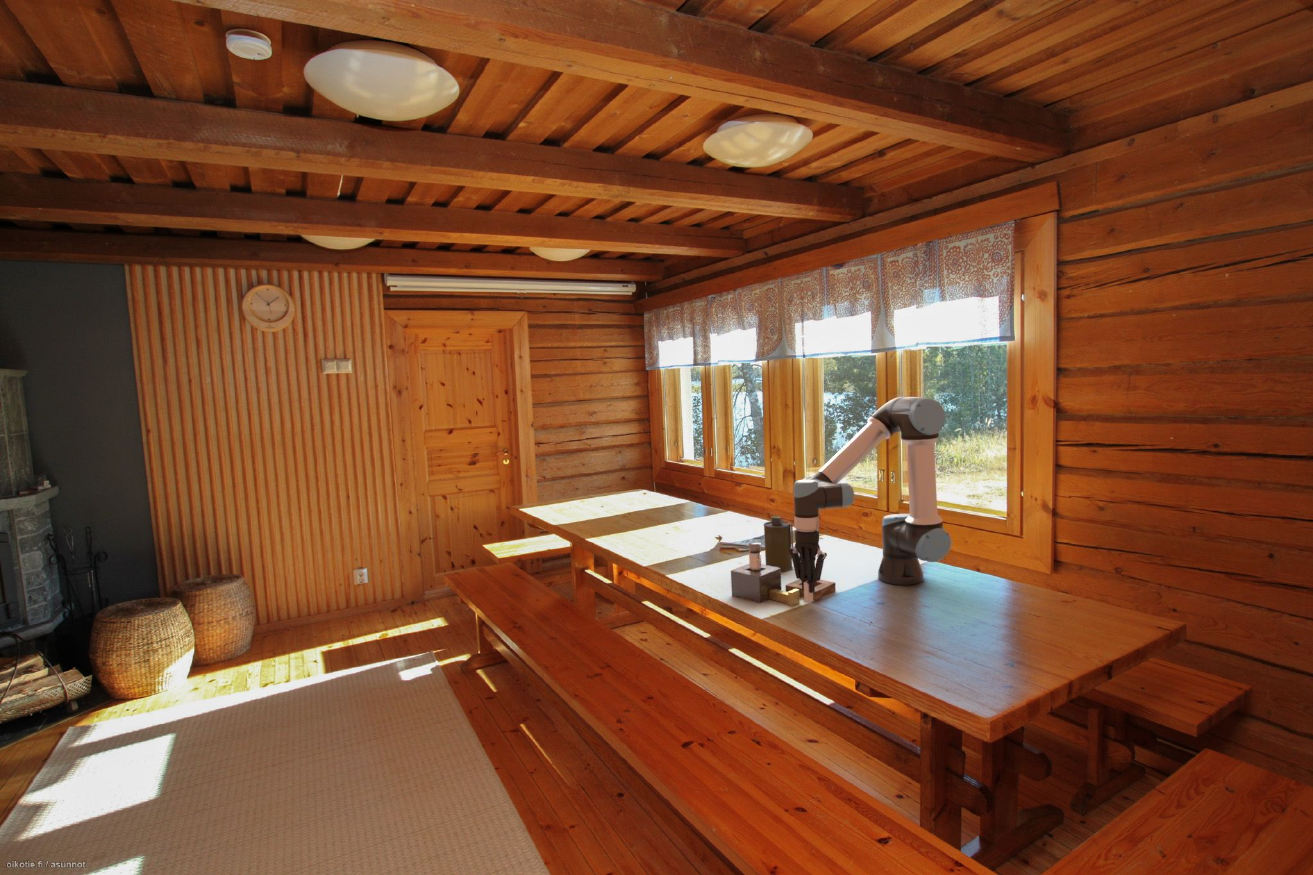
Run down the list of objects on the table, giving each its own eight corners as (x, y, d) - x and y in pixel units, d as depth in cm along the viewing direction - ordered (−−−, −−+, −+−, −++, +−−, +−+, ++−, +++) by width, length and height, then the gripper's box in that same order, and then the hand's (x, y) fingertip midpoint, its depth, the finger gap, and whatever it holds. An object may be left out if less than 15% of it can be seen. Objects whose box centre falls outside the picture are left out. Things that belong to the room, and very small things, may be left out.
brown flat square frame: (835, 591, 232) (835, 582, 232) (816, 600, 224) (815, 591, 223) (805, 584, 240) (805, 576, 240) (785, 593, 232) (785, 585, 232)
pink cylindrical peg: (764, 583, 232) (762, 542, 231) (757, 586, 229) (755, 545, 228) (755, 581, 235) (753, 541, 233) (747, 583, 232) (746, 543, 231)
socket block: (781, 593, 232) (780, 568, 231) (760, 603, 224) (759, 576, 223) (753, 587, 241) (752, 562, 240) (731, 596, 232) (730, 570, 232)
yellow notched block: (799, 602, 222) (799, 589, 222) (792, 606, 219) (792, 592, 219) (769, 595, 231) (769, 582, 230) (762, 598, 228) (762, 585, 228)
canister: (761, 570, 260) (759, 519, 258) (770, 563, 269) (768, 513, 267) (789, 573, 254) (787, 520, 253) (797, 565, 264) (795, 515, 262)
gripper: (831, 529, 213) (833, 602, 215) (796, 524, 222) (798, 594, 224) (818, 534, 208) (819, 609, 210) (782, 528, 217) (784, 600, 219)
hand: (808, 601), depth 217 cm, fingers closed
